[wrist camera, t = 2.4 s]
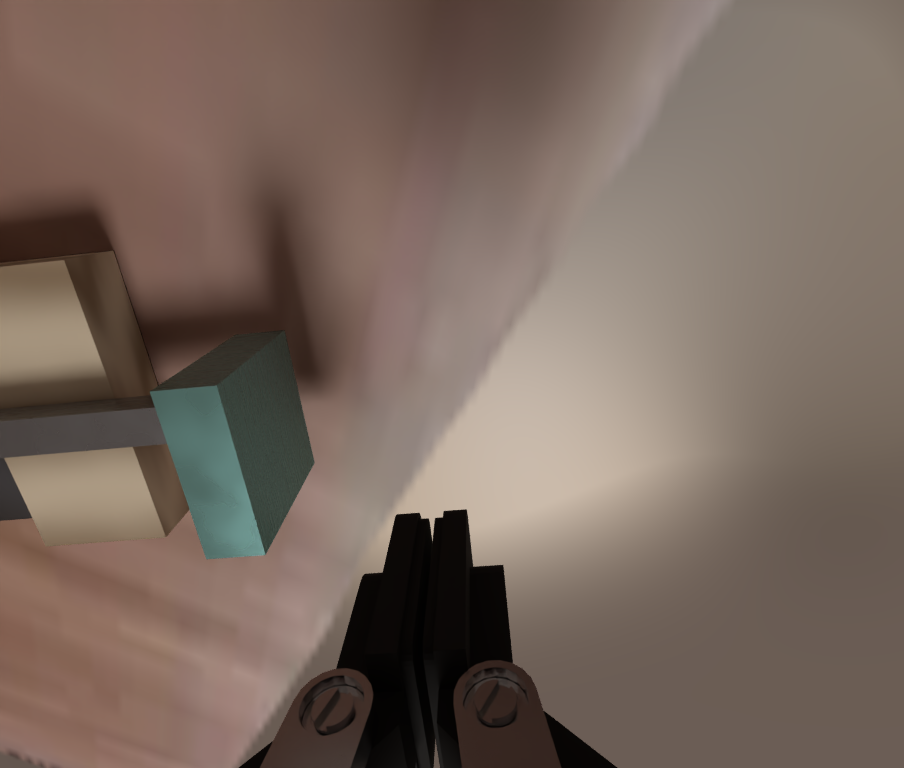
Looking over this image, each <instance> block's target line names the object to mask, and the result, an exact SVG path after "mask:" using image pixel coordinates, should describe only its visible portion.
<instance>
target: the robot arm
mask: <svg viewBox="0 0 904 768" xmlns="http://www.w3.org/2000/svg"><path fill="white" fill-rule="evenodd" d="M435 738H436V744H437V751H438V757H439V763H440V768H617V767H616V766H614V765H613V764H612V763H610V762H609V761H608V760H607V759H605V758H604V757H603V756H601V755H600V754H599V753H597V752H596V751H595V750H594V749H592V748H591V747H590V746H589V745H587V744H586V743H584V742H583V741H582V740H581V739H579V738H578V737H577V736H576V735H574V734H573V733H572V732H570V731H569V730H568V729H567V728H565V727H564V726H563V725H562V724H560V723H559V722H558V721H556V720H555V719H554V718H552V717H551V716H550V715H548V714H547V713H546V712H545V711H543V708H542V704H541V701H540V698H539V695H538V692H537V688H536V686H535V684H534V682H533V680H532V678H531V677H530V676H529V675H528V674H527V673H526V672H525V671H524V670H523V669H522V668H520V667H518V666H517V665H515V664H513V660H512V650H511V639H510V629H509V619H508V609H507V598H506V588H505V578H504V568H503V565H495V566H479V567H473V561H472V553H471V543H470V533H469V524H468V515H467V510H453V511H444V513H443V518H435V524H434V534H433V543H432V536H431V529H430V522H429V519H421V516H420V513H411V514H397V515H396V517H395V521H394V525H393V530H392V534H391V538H390V543H389V547H388V552H387V556H386V561H385V565H384V569H383V573H373V574H372V573H371V574H364V575H363V577H362V580H361V582H360V586H359V589H358V593H357V597H356V600H355V604H354V607H353V611H352V614H351V618H350V622H349V625H348V629H347V632H346V636H345V640H344V643H343V647H342V651H341V654H340V658H339V661H338V665H337V668H336V669H334V670H330V671H327V672H324V673H322V674H320V675H318V676H317V677H315V678H313V679H312V680H310V681H309V682H308V683H307V684H306V685H305V686H304V687H303V688H302V689H301V690H300V692H299V693H298V695H297V696H296V698H295V699H294V701H293V703H292V705H291V707H290V709H289V711H288V713H287V715H286V717H285V719H284V721H283V723H282V725H281V727H280V729H279V731H278V733H277V734H276V736H275V738H274V740H273V741H272V742H271V743H270V744H268V745H267V746H266V747H265V748H264V749H262V750H261V751H260V752H258V753H257V754H256V755H254V756H253V757H252V758H251V759H249V760H248V761H247V762H246V763H244V764H243V765H242V766H240V767H239V768H433V767H434V752H435V751H434V750H435Z"/></svg>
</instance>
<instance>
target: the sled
mask: <svg viewBox="0 0 904 768" xmlns="http://www.w3.org/2000/svg"><path fill="white" fill-rule="evenodd" d="M150 394H151V395H147V396H136V397H125V398H114V399H103V400H92V401H81V402H70V403H59V404H48V405H37V406H26V407H15V408H4V409H0V458H9V457H21V456H33V455H44V454H56V453H68V452H79V451H91V450H103V449H114V448H126V447H138V446H149V445H161V444H168V447H169V450H170V453H171V456H172V459H173V462H174V465H175V468H176V471H177V474H178V477H179V480H180V483H181V486H182V489H183V492H184V495H185V497H186V500H187V503H188V506H189V509H190V512H191V515H192V518H193V521H194V524H195V527H196V530H197V533H198V536H199V539H200V542H201V545H202V548H203V550H204V553H205V556H206V559H216V558H230V557H243V556H257V555H266V553H267V551H268V549H269V547H270V545H271V544H272V542H273V540H274V538H275V536H276V534H277V532H278V530H279V528H280V527H281V525H282V523H283V521H284V519H285V517H286V515H287V513H288V512H289V510H290V508H291V506H292V504H293V502H294V500H295V498H296V497H297V495H298V493H299V491H300V489H301V487H302V485H303V483H304V482H305V480H306V478H307V476H308V474H309V472H310V470H311V468H312V466H313V465H314V458H313V454H312V449H311V445H310V441H309V436H308V432H307V427H306V423H305V419H304V414H303V410H302V405H301V401H300V397H299V392H298V388H297V383H296V379H295V375H294V370H293V366H292V361H291V357H290V353H289V348H288V344H287V339H286V335H285V331H284V330H281V331H271V332H261V333H250V334H240V335H234V336H233V337H231V338H230V339H228V340H227V341H225V342H224V343H222V344H221V345H219V346H218V347H216V348H215V349H213V350H212V351H210V352H209V353H207V354H206V355H204V356H203V357H201V358H200V359H198V360H197V361H195V362H194V363H192V364H191V365H189V366H188V367H186V368H185V369H183V370H181V371H180V372H178V373H177V374H175V375H174V376H172V377H171V378H169V379H168V380H166V381H165V382H163V383H162V384H160V385H159V386H157V387H156V388H154V389H153V390H151V391H150Z"/></svg>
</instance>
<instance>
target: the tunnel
mask: <svg viewBox="0 0 904 768" xmlns="http://www.w3.org/2000/svg"><path fill="white" fill-rule="evenodd" d="M157 386H158V384H157V381H156V378H155V375H154V372H153V369H152V366H151V363H150V360H149V357H148V354H147V351H146V348H145V345H144V342H143V339H142V336H141V332H140V329H139V326H138V323H137V320H136V317H135V314H134V311H133V308H132V305H131V302H130V299H129V296H128V293H127V290H126V287H125V284H124V281H123V278H122V275H121V272H120V269H119V266H118V263H117V260H116V257H115V254H114V251H106V252H97V253H87V254H78V255H69V256H59V257H50V258H41V259H32V260H22V261H13V262H4V263H0V409H4V408H15V407H26V406H37V405H48V404H59V403H70V402H81V401H92V400H103V399H114V398H125V397H136V396H147V395H151V394H150V391H151V390H153V389H154V388H156V387H157ZM188 511H189V506H188V503H187V500H186V497H185V495H184V492H183V489H182V486H181V483H180V480H179V477H178V474H177V471H176V468H175V465H174V462H173V459H172V456H171V453H170V450H169V447H168V444H161V445H149V446H138V447H126V448H114V449H103V450H91V451H79V452H68V453H56V454H44V455H33V456H21V457H9V458H0V521H2V520H15V519H27V518H33V520H34V522H35V524H36V526H37V529H38V531H39V533H40V535H41V537H42V539H43V541H44V543H45V545H46V546H58V545H71V544H84V543H97V542H111V541H124V540H137V539H150V538H164V537H167V536H168V534H169V533H170V532H171V531H172V530H173V528H174V527H175V526H176V525H177V524H178V522H179V521H180V520H181V519H182V518H183V516H184V515H185V514H186V513H187V512H188Z"/></svg>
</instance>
